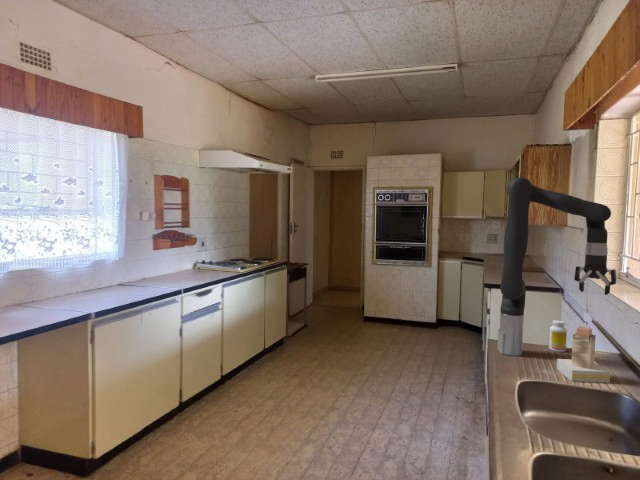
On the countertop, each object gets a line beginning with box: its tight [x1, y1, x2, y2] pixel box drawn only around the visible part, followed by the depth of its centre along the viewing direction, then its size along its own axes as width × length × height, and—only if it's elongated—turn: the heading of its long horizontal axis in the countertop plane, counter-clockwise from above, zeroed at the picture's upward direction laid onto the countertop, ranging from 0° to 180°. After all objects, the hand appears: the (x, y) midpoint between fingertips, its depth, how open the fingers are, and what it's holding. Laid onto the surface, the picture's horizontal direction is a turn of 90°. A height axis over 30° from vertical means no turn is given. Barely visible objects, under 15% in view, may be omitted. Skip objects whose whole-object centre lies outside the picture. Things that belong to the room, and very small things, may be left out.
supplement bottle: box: [548, 319, 568, 353], centre depth 191 cm, size 7×7×13 cm
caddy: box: [571, 331, 597, 369], centre depth 161 cm, size 6×6×12 cm
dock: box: [556, 358, 611, 384], centre depth 161 cm, size 13×12×4 cm
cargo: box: [576, 326, 593, 341], centre depth 161 cm, size 4×4×4 cm
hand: (594, 293), depth 176 cm, fingers open, 8 cm apart
